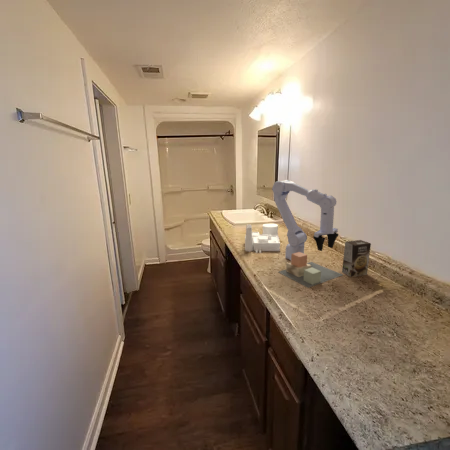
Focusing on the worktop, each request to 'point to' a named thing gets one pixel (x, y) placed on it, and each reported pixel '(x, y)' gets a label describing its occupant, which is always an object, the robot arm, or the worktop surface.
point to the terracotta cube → (299, 259)
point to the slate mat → (325, 272)
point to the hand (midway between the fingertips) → (325, 248)
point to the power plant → (262, 239)
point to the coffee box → (356, 258)
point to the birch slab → (296, 269)
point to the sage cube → (312, 275)
